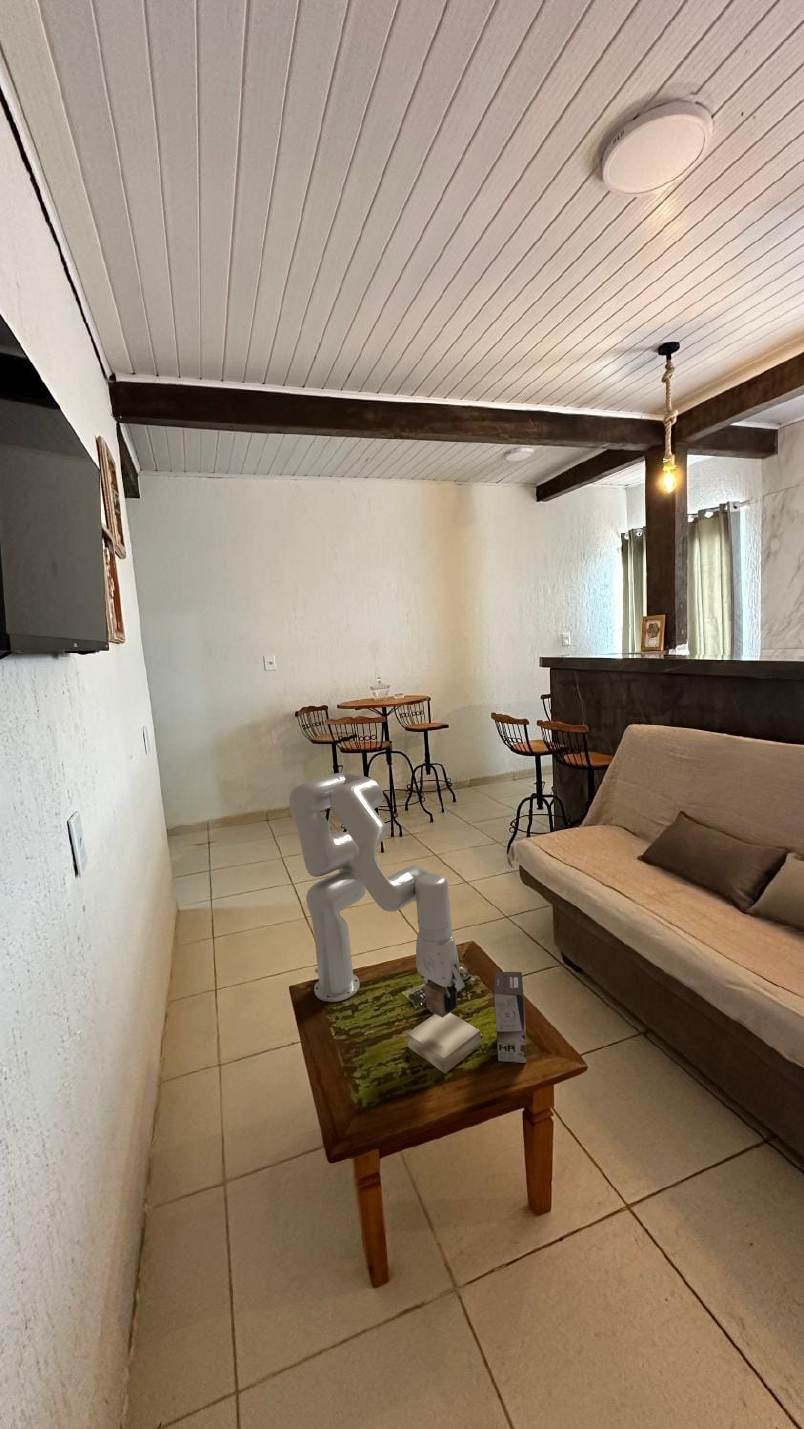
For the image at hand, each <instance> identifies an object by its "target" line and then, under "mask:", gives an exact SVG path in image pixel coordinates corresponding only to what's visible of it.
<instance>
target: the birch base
mask: <svg viewBox="0 0 804 1429" xmlns="http://www.w3.org/2000/svg"><path fill="white" fill-rule="evenodd" d="M406 1034H407V1046H408V1048H409V1049H410V1050H411V1051H412V1052H414V1053H416V1054H418V1056H420V1057H422V1058H423V1059H424V1060H426V1062H429V1063H430V1064H431V1065H432V1066H434V1067H435V1068H436V1069H438V1070H439V1071H441V1072H442V1073H444V1074H447V1073H448V1072H449V1071H450V1070H452V1069H453V1068H454V1067H455V1066H457V1065H458V1064H460V1062H462V1061H463V1060H465V1058H467V1057H469V1055H471V1054H472V1053H473V1052H474V1051H476V1049H478V1048H479V1047H481V1046H482V1038H481V1030H480V1029H478V1028H476V1027H475V1026H473V1025H472V1024H470V1023H468V1022H467V1021H465V1020H463V1019H461V1018H460V1017H458V1016H457V1015H455V1014H453V1013H452V1012H450V1013H449V1014H447V1015H446V1016H444V1017H443V1018H442V1017H440V1016H438V1015H437V1014H435V1013H433V1015H431V1016H430V1017H428V1018H427V1019H425V1020H424V1021H423V1022H421V1023H420V1024H419V1025H417V1026H415V1027H414V1028H413V1029H411V1030H410V1031H408V1032H407V1033H406Z"/></svg>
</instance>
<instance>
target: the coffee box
mask: <svg viewBox="0 0 804 1429" xmlns="http://www.w3.org/2000/svg"><path fill="white" fill-rule="evenodd" d="M523 983H524V981H523V972H522V971H495V972H494V983H493V984H494V985H493V997H494V1011H495V1027H496V1030H495V1031H496V1042H497V1059H498V1062H506V1063H507V1062H510V1063H521V1064H525V1063H527V1032H526V1031H527V1029H526V1011H525V997H524V995H525V994H524V984H523Z"/></svg>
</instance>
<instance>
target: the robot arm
mask: <svg viewBox="0 0 804 1429" xmlns="http://www.w3.org/2000/svg"><path fill="white" fill-rule="evenodd" d="M383 800H384V792H383V788H382V787H381V786H380V785H379V783H378V782H377V781H376V780H375V779H373V778H371V777H367V776H364V775H363V776H362V775H359V774H353V773H349V772H336V773H333V774H329V775H325V776H321V777H318V778H315V779H311V780H308V781H305V782H302V783H301V784H298V785H297V786H295V787H294V788H293V789H292V791H291V792H290V795H289V797H288V807H289V811H290V814H291V816H292V819H293V822H294V823H295V826H296V829H297V832H298V837H299V838H298V839H299V843H300V848H301V853H302V857H303V861H304V866H305V869H306V870H307V873H308V874H309V875H310V876H311V877H313V878H319V877H324V876H326V875H328V874H330V873H333V872H335V871H338V872H337V873H334V874H333V875H330V876H328V877H325V878H324V879H321V880H319V881H317V882H316V883H314V884H313V885H312V886H311V887H309V889H308V891H307V892H306V897H305V900H306V906H307V907H308V911H309V916H310V919H311V924H312V931H313V937H314V947H315V955H316V956H315V957H316V966H317V967H315V969H314V973H316V974H317V976H318V980H319V981H318V980H317V981H318V982H317V981H316V983H315V985H314V988H313V990H314V991H313V992H314V995H315V996H316V998H318V999H319V1000H321V1001H323V1002H327V1003H336V1002H340V1001H345V1000H347V999H349V998H351V997H353V996H354V995H355V994H356V993H357V992H358V991H359V989H360V979H359V977H358V976H357V975H356V974H354V971H353V962H352V953H351V951H352V950H351V940H350V931H349V925H348V923H347V921H346V920H345V919H344V918H343V917H342V916H341V911H343V910H345V909H346V908H348V907H350V906H352V905H354V904H355V903H357V902H360V901H361V900H362V898H364V897H365V894H366V890H367V892H368V893H369V895H370V897H371V898H372V899H373V900H374V902H375V903H376V905H377V906H378V907H379V908H381V910H383V911H386V912H388V913H393V912H396V911H398V910H401V909H403V908H405V907H406V906H408V905H409V904H411V903H412V902H415V903H416V913H417V924H418V932H417V934H416V944H415V960H416V962H415V966H416V970H417V973H418V974H419V975H421V976H422V978H423V983H424V985H425V984H426V983H428V982H429V981H433V982H435V983H437V984H439V985H440V986H443V987H444V990H445V994H446V995H445V996H444V1002H445V1012H447V1013H449V1012H450V1011H451V1012H453V1011H454V1010H456V1009H457V1008H456V1006H457V1007H458V1003H457V1004H456V995H457V993H458V991H461V990H463V989H464V988H465V987H466V986H465V985H466V984H465V983H464V981H463V979H462V977H461V975H460V974H461V973H460V972H461V971H460V970H461V969H460V961H459V956H458V954H459V953H458V949H457V944H456V941H455V938H454V936H453V926H452V917H451V916H452V915H451V903H450V893H449V892H450V891H449V890H450V888H449V883H448V880H447V878H446V877H445V876H443V875H442V874H437V873H431V872H429V871H428V870H427V869H424V868H423V867H421V866H418V865H409V866H407V867H405V868H403V869H401V870H399V871H397V872H394V873H393V874H391V875H388V876H386V875H385V873H384V872H383V870H382V869H381V867H380V866H379V862H378V861H377V848H378V846H379V845H380V844H381V843H382V841H383V840H384V839H385V837H386V836H387V834H388V826H387V824H386V823H385V822H384V821H383V819H382V818H381V817H380V816H379V814H378V812H376V810H375V809H376V808H378V807H380V806H381V805H382V803H383ZM330 808H331V809H332V811H333V812H334V814H335V815H336V816H337V818H338V819H339V821H340V823H341V824H342V825H343V827H344V828H345V830H346V831H347V832H345V831H338V832H335V833H333V834H331V829H330V824H329V821H328V820H327V818H326V817H325V816H324V814H322V813H321V812H320V811H324V810H327V809H330ZM450 984H451V987H452V988H451V989H449V986H448V985H450ZM455 1008H456V1009H455ZM453 1009H454V1010H453ZM452 1010H453V1011H452ZM451 1012H450V1013H451Z"/></svg>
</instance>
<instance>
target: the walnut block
mask: <svg viewBox="0 0 804 1429" xmlns="http://www.w3.org/2000/svg"><path fill="white" fill-rule="evenodd" d="M448 986H449V989H451V988H452V987H451V984H450V985H448ZM424 989H425V990H424V991H425V1001H426V1002H425V1003H426V1009H427V1010H428V1011H429V1012H431V1011H432V1012H433V1014H437V1015H438V1016H440V1017H442V1018H443V1017H444V1016H446V1015H447V1014H449V1013H452V1012H453V1011H454V1010H456V1009H457V1008H458V999H457V998H458V997H457V995H458V994H456V1004H457V1006H456V1008H455V1009H453V1010H452V1011H450V1012H449V1013H447V1012H445V1002H444V996H445V995H446V994H445V990H444V987H443V986H440V985H439V984H437V983H435V982H433V981H429V982H428V983H426V984H424ZM432 1012H431V1013H432Z"/></svg>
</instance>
